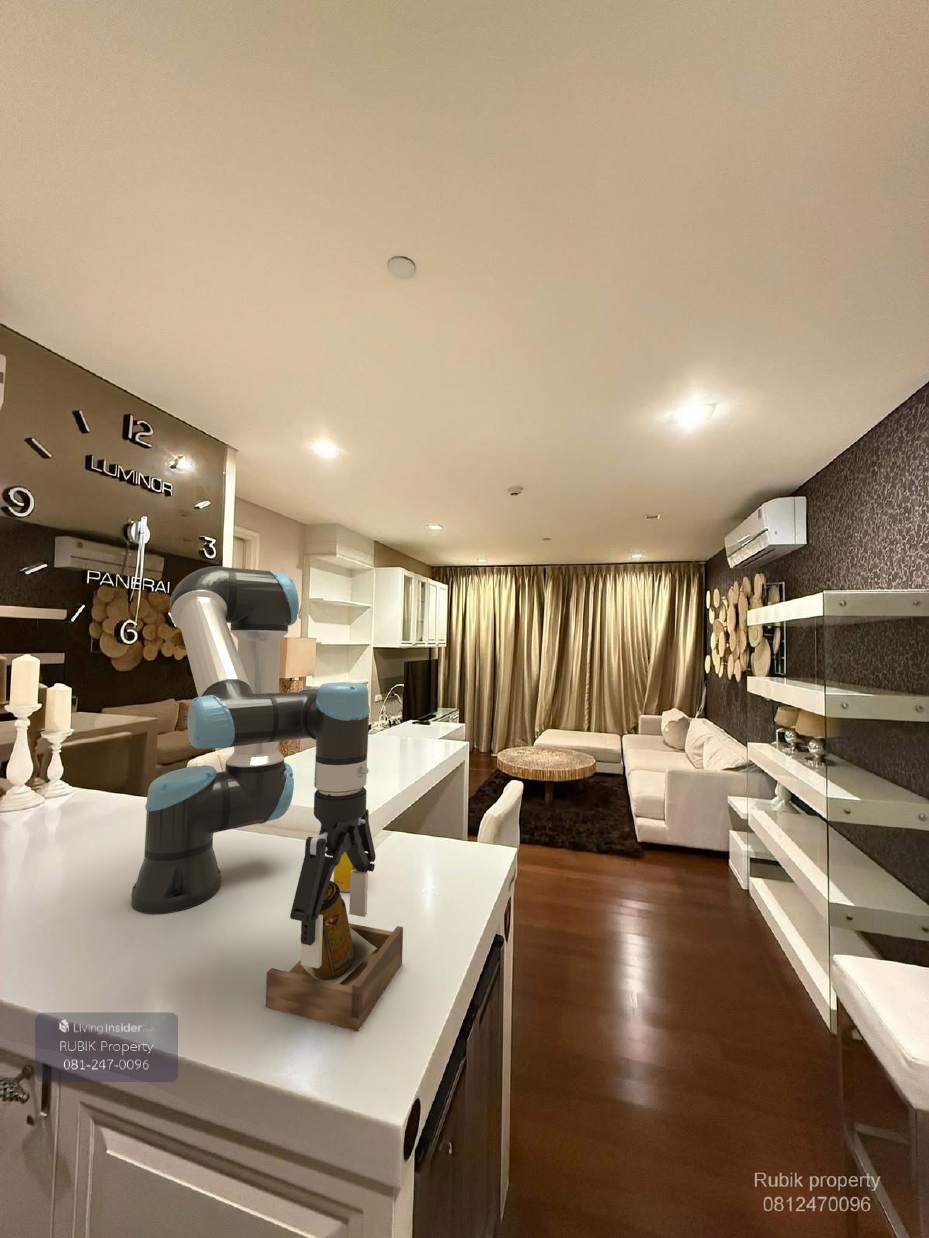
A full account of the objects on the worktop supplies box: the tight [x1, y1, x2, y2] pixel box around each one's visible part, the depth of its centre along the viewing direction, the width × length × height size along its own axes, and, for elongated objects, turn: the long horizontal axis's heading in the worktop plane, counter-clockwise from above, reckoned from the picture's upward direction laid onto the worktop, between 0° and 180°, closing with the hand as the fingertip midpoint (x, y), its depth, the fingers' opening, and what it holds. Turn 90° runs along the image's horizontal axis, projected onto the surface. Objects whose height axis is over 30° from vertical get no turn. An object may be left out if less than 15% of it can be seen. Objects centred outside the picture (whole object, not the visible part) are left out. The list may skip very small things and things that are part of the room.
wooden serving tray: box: [264, 922, 404, 1032], centre depth 72 cm, size 14×14×6 cm
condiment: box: [301, 880, 377, 984], centre depth 72 cm, size 7×8×12 cm
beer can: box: [333, 852, 356, 893], centre depth 101 cm, size 6×6×15 cm
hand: (336, 937), depth 73 cm, fingers open, 12 cm apart
